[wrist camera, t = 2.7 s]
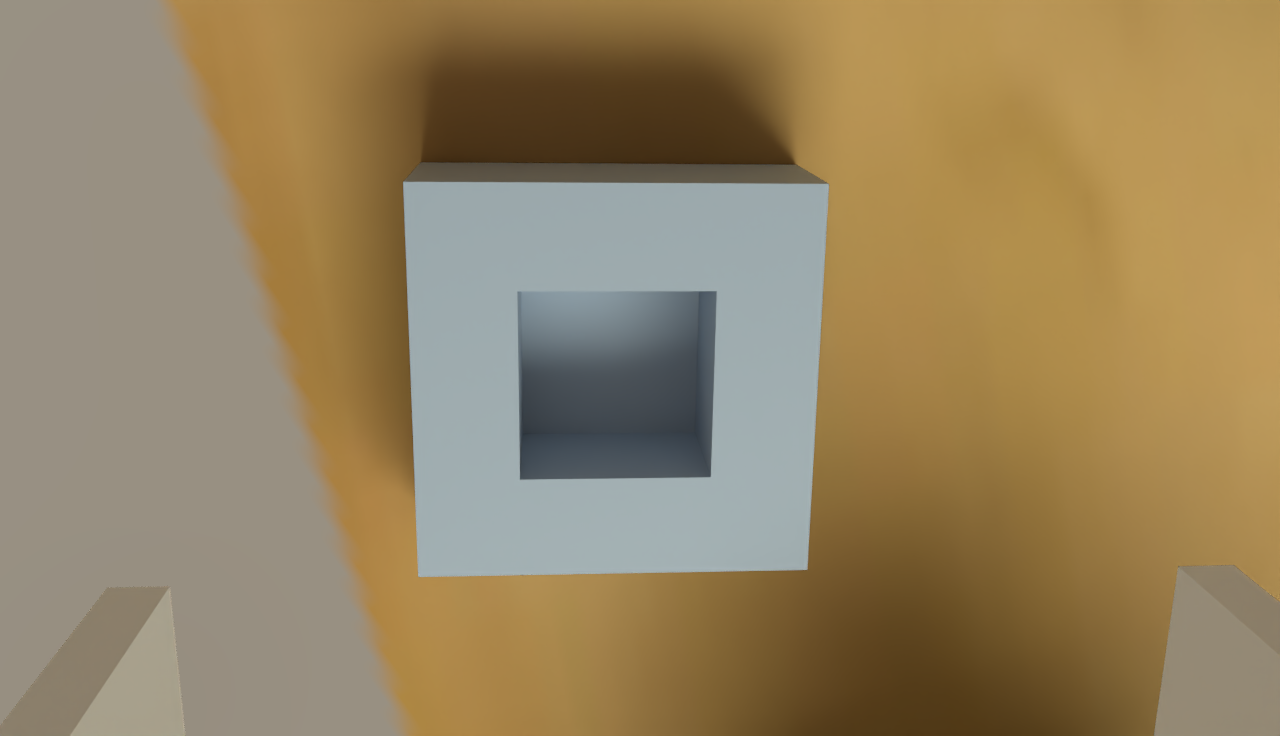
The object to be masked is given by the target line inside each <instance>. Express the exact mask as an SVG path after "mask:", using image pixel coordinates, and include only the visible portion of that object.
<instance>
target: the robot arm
mask: <svg viewBox="0 0 1280 736" xmlns="http://www.w3.org/2000/svg"><path fill="white" fill-rule="evenodd" d="M170 593H171V592H170V587H119V588H107V589H106V590H105V591H104V593H103V594H102V595H101V597H100V598H99V599H98V600H97V602H96V603H95V604H94V606H93V607H92V608H91V609H90V611H89V612H88V613H87V615H86V616H85V617H84V618H83V620H82V621H81V622H80V624H79V625H78V626H77V628H76V629H75V630H74V631H73V633H72V634H71V635H70V636H69V638H68V639H67V640H66V642H65V643H64V644H63V645H62V647H61V648H60V649H59V651H58V652H57V653H56V655H55V656H54V657H53V658H52V660H51V661H50V662H49V664H48V665H47V666H46V667H45V669H44V670H43V671H42V672H41V674H40V675H39V676H38V678H37V679H36V680H35V681H34V683H33V684H32V685H31V687H30V688H29V689H28V691H27V692H26V693H25V694H24V696H23V697H22V698H21V699H20V701H19V702H18V703H17V705H16V706H15V708H14V709H13V710H12V711H11V713H10V714H9V715H8V716H7V718H6V719H5V720H4V721H3V723H2V724H1V725H0V736H185V727H184V718H183V708H182V698H181V689H180V679H179V669H178V661H177V650H176V641H175V631H174V621H173V613H172V602H171V594H170ZM1154 736H1280V602H1279V601H1277V600H1276V599H1275V598H1274V597H1273V596H1271V595H1270V594H1269V593H1268V592H1266V591H1265V590H1264V589H1263V588H1261V587H1260V586H1259V585H1258V584H1256V583H1255V582H1254V581H1253V580H1251V579H1250V578H1249V577H1248V576H1246V575H1245V574H1244V573H1243V572H1242V571H1240V570H1239V569H1238V568H1237V567H1235V566H1234V565H1221V566H1178V572H1177V579H1176V586H1175V593H1174V600H1173V607H1172V614H1171V621H1170V628H1169V635H1168V641H1167V648H1166V655H1165V662H1164V669H1163V676H1162V683H1161V690H1160V697H1159V703H1158V710H1157V717H1156V724H1155V731H1154Z"/></svg>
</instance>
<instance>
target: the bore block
mask: <svg viewBox="0 0 1280 736" xmlns="http://www.w3.org/2000/svg"><path fill="white" fill-rule="evenodd" d="M403 192H404V218H405V244H406V270H407V295H408V321H409V347H410V373H411V399H412V425H413V450H414V476H415V502H416V528H417V554H418V577H439V576H495V575H550V574H606V573H662V572H718V571H774V570H807V566H808V548H809V530H810V512H811V495H812V477H813V459H814V441H815V423H816V406H817V388H818V370H819V352H820V334H821V316H822V299H823V281H824V263H825V245H826V227H827V210H828V192H829V184H828V183H827V182H825V181H823V180H821V179H820V178H818V177H816V176H815V175H813V174H811V173H810V172H808V171H806V170H805V169H803V168H801V167H800V166H798V165H774V164H612V163H450V162H420V164H419V165H418V166H417V167H416V168H415V169H414V170H413V171H412V172H411V174H410V175H409V176H408V177H407V178H406V179H405V180H404V181H403Z"/></svg>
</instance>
